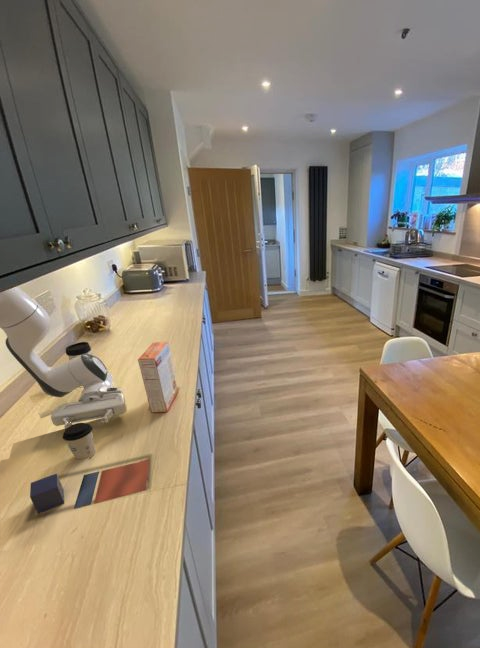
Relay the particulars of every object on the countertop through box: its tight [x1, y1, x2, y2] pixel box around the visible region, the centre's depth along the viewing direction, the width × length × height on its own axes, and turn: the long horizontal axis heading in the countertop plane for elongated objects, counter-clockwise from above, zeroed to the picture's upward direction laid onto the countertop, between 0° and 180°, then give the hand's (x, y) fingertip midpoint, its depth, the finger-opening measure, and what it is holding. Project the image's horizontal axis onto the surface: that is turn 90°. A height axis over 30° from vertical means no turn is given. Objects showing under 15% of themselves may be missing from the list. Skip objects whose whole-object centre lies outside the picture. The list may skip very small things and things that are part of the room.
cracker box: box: [137, 341, 179, 413], centre depth 113 cm, size 14×6×21 cm, turn 3°
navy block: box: [29, 473, 65, 515], centre depth 75 cm, size 5×5×6 cm
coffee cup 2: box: [61, 422, 96, 460], centre depth 90 cm, size 7×7×10 cm
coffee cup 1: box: [65, 341, 93, 361], centre depth 130 cm, size 8×8×15 cm
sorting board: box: [73, 458, 151, 510], centre depth 81 cm, size 24×12×1 cm, turn 111°
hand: (86, 424), depth 96 cm, fingers open, 8 cm apart
